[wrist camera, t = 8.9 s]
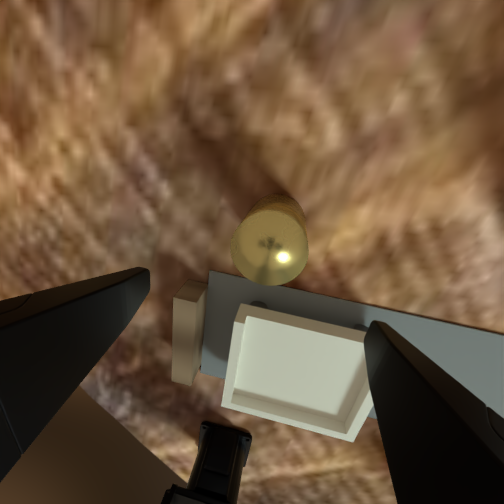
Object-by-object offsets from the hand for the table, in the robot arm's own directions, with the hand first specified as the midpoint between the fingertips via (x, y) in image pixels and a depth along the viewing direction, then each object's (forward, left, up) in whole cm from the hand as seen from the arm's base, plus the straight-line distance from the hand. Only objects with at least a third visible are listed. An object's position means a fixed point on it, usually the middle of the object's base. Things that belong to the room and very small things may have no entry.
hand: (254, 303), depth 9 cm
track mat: (-12, -9, -11) cm, 19 cm away
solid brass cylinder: (0, 0, -11) cm, 11 cm away
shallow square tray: (-12, -4, -11) cm, 17 cm away
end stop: (-12, +6, -11) cm, 17 cm away
